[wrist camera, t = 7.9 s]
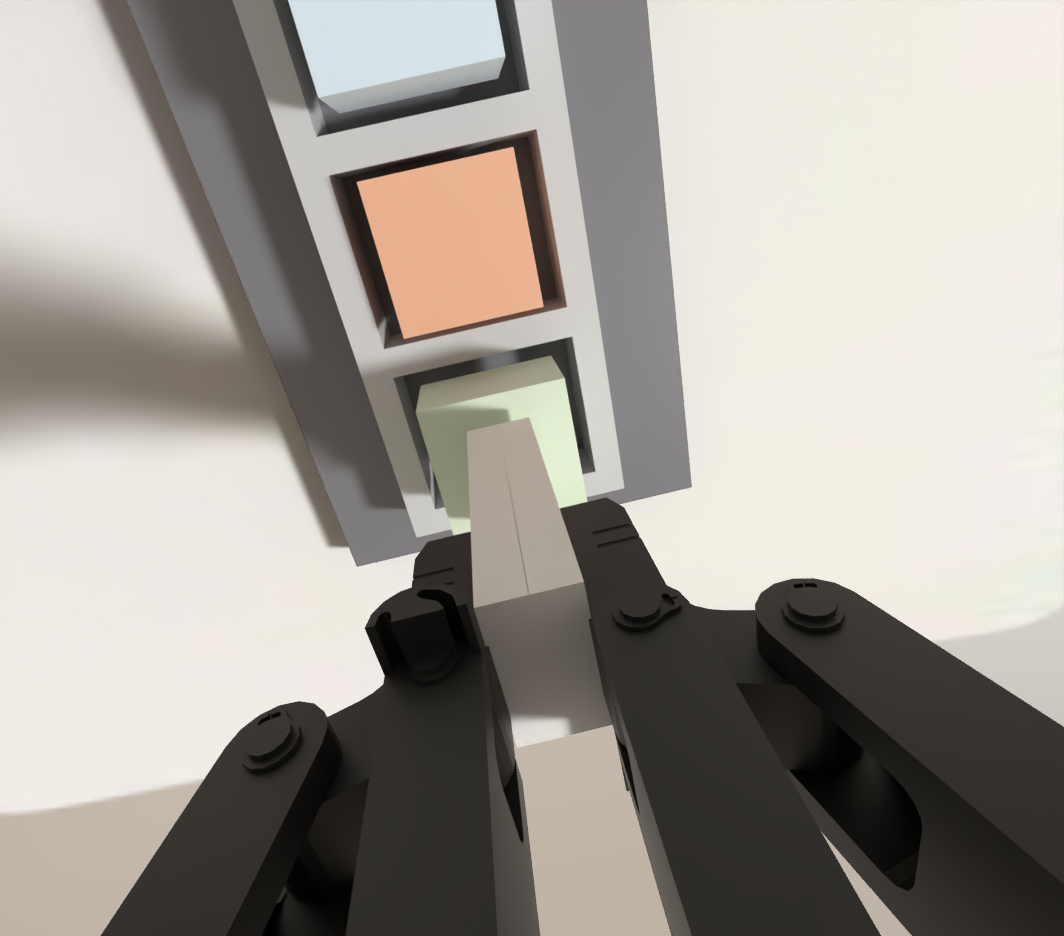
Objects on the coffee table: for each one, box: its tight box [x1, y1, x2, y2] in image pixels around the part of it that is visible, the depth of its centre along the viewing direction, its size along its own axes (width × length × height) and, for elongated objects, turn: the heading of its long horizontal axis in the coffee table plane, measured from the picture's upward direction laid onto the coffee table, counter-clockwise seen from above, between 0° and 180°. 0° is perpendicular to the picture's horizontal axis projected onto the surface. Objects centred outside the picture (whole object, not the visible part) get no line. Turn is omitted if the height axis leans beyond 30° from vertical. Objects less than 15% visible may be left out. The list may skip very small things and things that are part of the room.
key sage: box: [416, 356, 587, 535], centre depth 15 cm, size 4×4×2 cm
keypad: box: [126, 0, 692, 567], centre depth 15 cm, size 24×12×3 cm, turn 12°
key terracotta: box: [357, 147, 544, 339], centre depth 15 cm, size 4×4×2 cm
